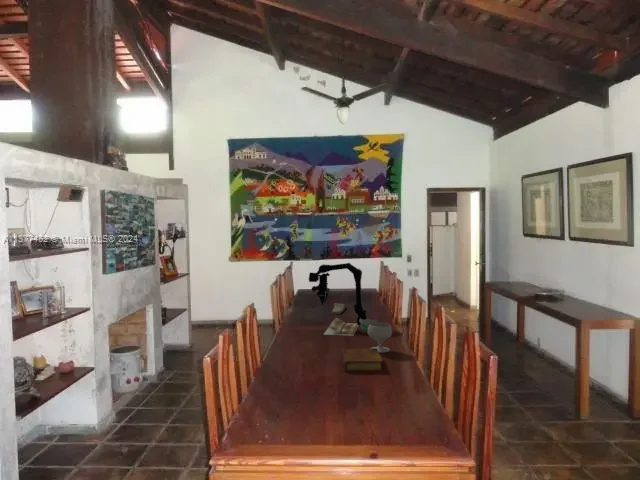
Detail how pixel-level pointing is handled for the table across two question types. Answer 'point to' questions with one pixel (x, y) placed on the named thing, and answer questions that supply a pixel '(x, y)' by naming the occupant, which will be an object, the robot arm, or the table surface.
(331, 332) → the underlay mat
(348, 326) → the oak board
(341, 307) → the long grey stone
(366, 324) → the food container
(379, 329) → the chalice
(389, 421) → the table surface
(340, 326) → the plank
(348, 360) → the diary
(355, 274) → the robot arm
